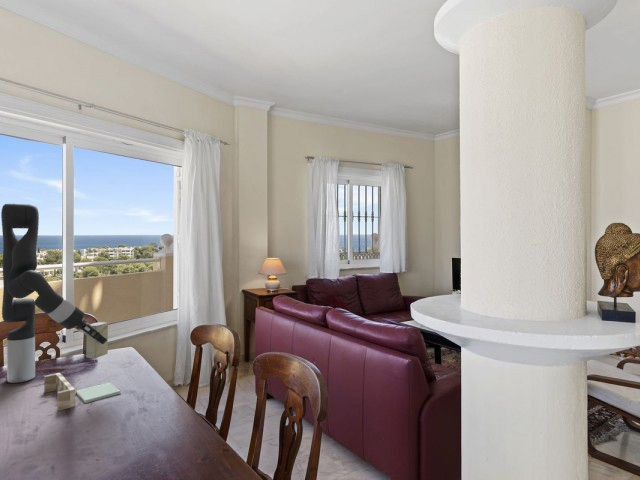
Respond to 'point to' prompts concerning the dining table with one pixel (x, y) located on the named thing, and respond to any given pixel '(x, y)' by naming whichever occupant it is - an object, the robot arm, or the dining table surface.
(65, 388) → the beige long angular piece
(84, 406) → the dining table surface
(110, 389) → the sage tile
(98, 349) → the skincare box
